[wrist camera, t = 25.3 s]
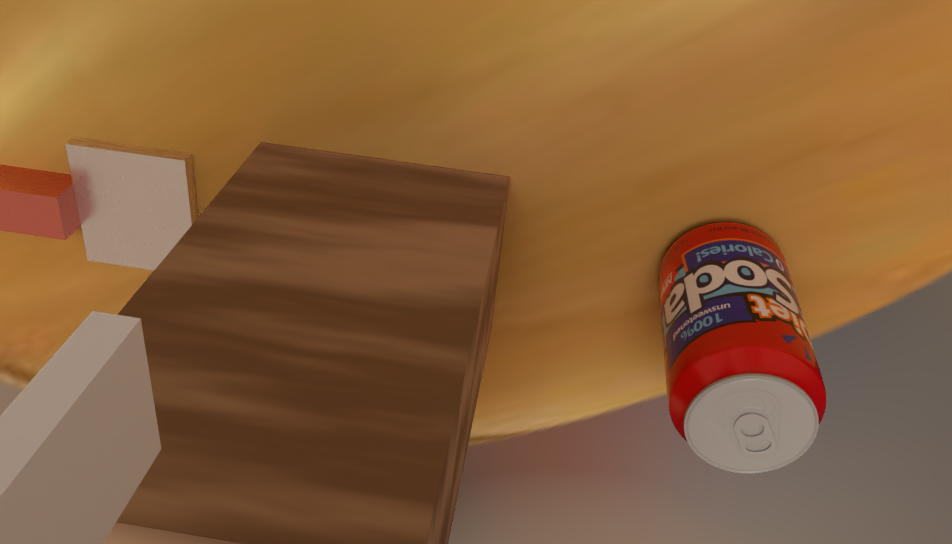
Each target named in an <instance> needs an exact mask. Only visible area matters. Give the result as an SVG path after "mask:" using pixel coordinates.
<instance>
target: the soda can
mask: <svg viewBox="0 0 952 544" xmlns="http://www.w3.org/2000/svg"><path fill="white" fill-rule="evenodd" d="M659 296H660V309H661V321H662V334H663V347H664V360H665V372H666V385H667V397H668V407H669V413H670V416H671V419H672V422H673V424H674V426H675V428H676V430H677V431H678V432H679V434H680V435H681V436H682V437H683V438H684V439H685V440H686V441H687V442H688V444H689V446H690V447H691V448H692V450H693V451H694V452H695V453H696V454H697V455H698V456H699V457H700V458H701V459H703V460H704V461H706V462H707V463H709V464H711V465H713V466H715V467H718V468H720V469H723V470H727V471H731V472H738V473H760V472H766V471H771V470H775V469H778V468H780V467H783V466H785V465H787V464H789V463H791V462H793V461H795V460H796V459H798V458H799V457H800V456H801V455H803V454H804V453H805V452H806V451H807V450H808V449H809V447H810V446H811V445H812V443H813V441H814V439H815V437H816V435H817V431H818V426H819V424H820V422H821V420H822V418H823V415H824V412H825V408H826V391H825V386H824V382H823V379H822V375H821V372H820V369H819V366H818V363H817V360H816V356H815V353H814V350H813V347H812V344H811V341H810V337H809V334H808V331H807V328H806V325H805V322H804V318H803V315H802V312H801V309H800V306H799V303H798V299H797V296H796V293H795V290H794V287H793V284H792V280H791V277H790V274H789V271H788V268H787V265H786V262H785V259H784V257H783V254H782V252H781V251H780V249H779V247H778V246H777V245H776V243H775V242H774V241H773V240H772V239H771V238H770V237H769V236H768V235H766V234H765V233H763V232H762V231H760V230H758V229H756V228H754V227H751V226H748V225H745V224H740V223H734V222H719V223H712V224H707V225H703V226H700V227H698V228H695V229H693V230H691V231H689V232H687V233H686V234H684V235H683V236H681V237H680V238H679V239H678V240H676V241H675V242H674V243H673V244H672V246H671V247H670V248H669V249H668V251H667V252H666V254H665V256H664V258H663V260H662V262H661V266H660V270H659Z"/></svg>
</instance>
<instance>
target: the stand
mask: <svg viewBox="0 0 952 544" xmlns="http://www.w3.org/2000/svg"><path fill="white" fill-rule="evenodd" d="M508 184H509V177H507V176H499V175H492V174H485V173H478V172H471V171H463V170H456V169H449V168H442V167H435V166H427V165H420V164H413V163H406V162H399V161H391V160H384V159H377V158H370V157H363V156H355V155H348V154H341V153H334V152H327V151H320V150H312V149H305V148H298V147H291V146H284V145H276V144H269V143H262V142H261V143H260V144H259V145H258V146H257V148H256V149H255V150H254V151H253V152H252V154H251V155H250V156H249V157H248V158H247V160H246V161H245V162H244V163H243V165H242V166H241V167H240V168H239V169H238V171H237V172H236V173H235V174H234V175H233V177H232V178H231V179H230V180H229V181H228V183H227V184H226V185H225V186H224V187H223V189H222V190H221V191H220V192H219V193H218V195H217V196H216V197H215V198H214V199H213V201H212V202H211V203H210V204H209V205H208V207H207V208H206V209H205V210H204V211H203V213H202V214H201V215H200V216H199V217H198V219H197V220H196V221H195V222H194V223H193V225H192V226H191V227H190V228H189V229H188V231H187V232H186V233H185V234H184V235H183V237H182V238H181V239H180V240H179V241H178V243H177V244H176V245H175V246H174V247H173V249H172V250H171V251H170V252H169V253H168V255H167V256H166V257H165V258H164V259H163V261H162V262H161V263H160V264H159V265H158V267H157V268H156V269H155V270H154V271H153V273H152V274H151V275H150V276H149V277H148V279H147V280H146V281H145V282H144V283H143V285H142V286H141V287H140V288H139V289H138V291H137V292H136V293H135V294H134V295H133V297H132V298H131V299H130V300H129V301H128V303H127V304H126V305H125V306H124V307H123V309H122V310H121V311H120V312H119V313H118V315H122V316H129V317H135V318H141V323H142V330H143V336H144V342H145V349H146V355H147V361H148V367H149V374H150V380H151V386H152V393H153V399H154V405H155V412H156V418H157V424H158V430H159V437H160V443H161V450H160V452H159V454H158V455H157V457H156V458H155V460H154V462H153V463H152V465H151V467H150V468H149V470H148V471H147V473H146V475H145V476H144V478H143V479H142V481H141V483H140V484H139V486H138V488H137V489H136V491H135V492H134V494H133V496H132V497H131V499H130V500H129V502H128V504H127V505H126V507H125V509H124V510H123V512H122V513H121V515H120V517H119V518H118V520H117V521H116V523H115V525H114V526H113V528H112V530H111V531H110V533H109V534H108V536H107V538H106V539H105V541H104V542H103V544H448V541H449V536H450V531H451V526H452V521H453V516H454V511H455V506H456V501H457V496H458V491H459V486H460V482H461V477H462V472H463V467H464V461H465V457H466V452H467V447H468V442H469V437H470V432H471V427H472V422H473V417H474V412H475V407H476V402H477V397H478V392H479V387H480V382H481V377H482V372H483V367H484V362H485V357H486V352H487V347H488V342H489V337H490V332H491V326H492V317H493V309H494V301H495V292H496V284H497V276H498V267H499V259H500V251H501V242H502V234H503V226H504V217H505V209H506V201H507V192H508Z"/></svg>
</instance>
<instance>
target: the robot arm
mask: <svg viewBox="0 0 952 544" xmlns="http://www.w3.org/2000/svg"><path fill="white" fill-rule="evenodd" d="M160 450H161V443H160V437H159V430H158V424H157V418H156V412H155V405H154V399H153V393H152V386H151V380H150V374H149V367H148V361H147V355H146V349H145V342H144V336H143V330H142V323H141V318H135V317H129V316H122V315H116V314H109V313H103V312H96V311H92V312H91V313H90V314H89V315H88V316H87V318H86V319H85V320H84V321H83V322H82V323H81V324H80V326H79V327H78V328H77V329H76V330H75V331H74V332H73V334H72V335H71V336H70V337H69V338H68V339H67V340H66V341H65V343H64V344H63V345H62V346H61V347H60V348H59V349H58V351H57V352H56V353H55V354H54V355H53V356H52V357H51V359H50V360H49V361H48V362H47V363H46V364H45V365H44V366H43V368H42V369H41V370H40V371H39V372H38V373H37V374H36V376H35V377H34V378H33V379H32V380H31V381H30V382H29V384H28V385H27V386H26V387H25V388H24V389H23V390H22V391H21V393H20V394H19V395H18V396H17V397H16V398H15V399H14V401H13V402H12V403H11V404H10V405H9V406H8V407H7V409H6V410H5V411H4V412H3V413H2V414H1V415H0V544H103V542H104V541H105V539H106V538H107V536H108V534H109V533H110V531H111V530H112V528H113V526H114V525H115V523H116V521H117V520H118V518H119V517H120V515H121V513H122V512H123V510H124V509H125V507H126V505H127V504H128V502H129V500H130V499H131V497H132V496H133V494H134V492H135V491H136V489H137V488H138V486H139V484H140V483H141V481H142V479H143V478H144V476H145V475H146V473H147V471H148V470H149V468H150V467H151V465H152V463H153V462H154V460H155V458H156V457H157V455H158V454H159V452H160Z"/></svg>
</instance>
